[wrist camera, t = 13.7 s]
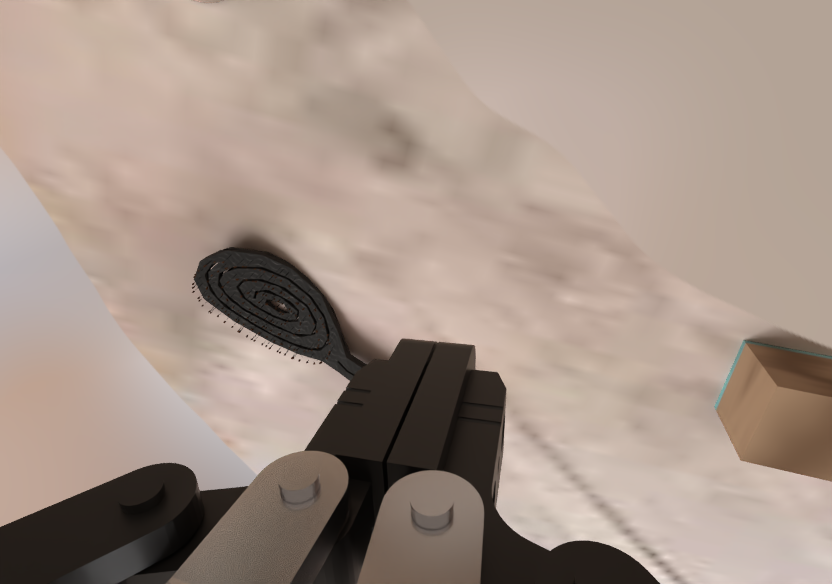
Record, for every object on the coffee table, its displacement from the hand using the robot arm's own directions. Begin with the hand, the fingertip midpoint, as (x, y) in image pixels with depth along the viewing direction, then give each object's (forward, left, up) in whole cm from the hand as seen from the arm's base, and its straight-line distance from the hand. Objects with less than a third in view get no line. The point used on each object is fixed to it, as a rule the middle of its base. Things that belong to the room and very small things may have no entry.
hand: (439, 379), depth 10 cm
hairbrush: (-16, -15, -28) cm, 36 cm away
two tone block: (+19, -15, -21) cm, 32 cm away
